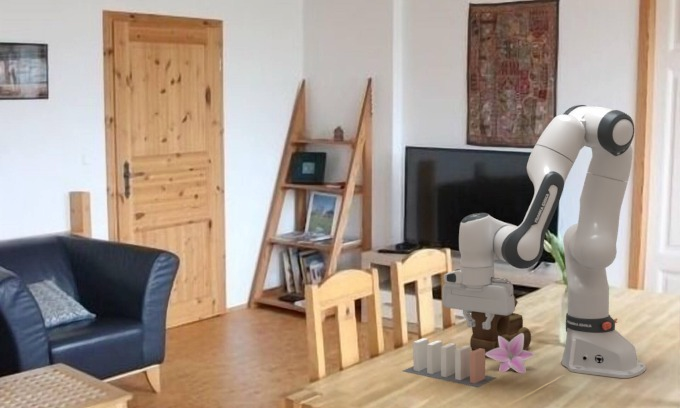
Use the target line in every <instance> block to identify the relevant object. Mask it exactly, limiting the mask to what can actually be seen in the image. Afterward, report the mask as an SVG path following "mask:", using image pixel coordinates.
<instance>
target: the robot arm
mask: <svg viewBox="0 0 680 408" xmlns="http://www.w3.org/2000/svg"><path fill="white" fill-rule="evenodd" d="M634 136H635V124H634V120H633V119H632V117H631V116H630V115H629V114H628V113H625V112H624V111H622V110H618V109H612V108H608V107H605V106H595V105H593V106H592V105H585V104H577V105H573V106H571V107H569V108H568V109H567V110H565V111H564V112H563V113H562V114H558V115H556V116H555V117H553V119H552V120H551V121H550V122H549V124H548V125H547V126H546V128H545V129H544V130H543V132H542V133H541V134H540V136H539V138H538V140H537V141H536V143H535V145H534V147H533V149H532V151H531V152H530V155H529V157H528V161H527V164H526V173H527V175H528V177H529V180H530V181H531V182H532V184H533V188H534V194H533V197H532V200H531V202H530V205H529V206H528V209H527V211H526V213H525V216H524V218H523V221H522V222H521V223H520V224H519V225H518V226H517V225H515V224H512V223H509V222H504V221H502V220H499V219H496V218H494V217H493V216H491V215H490V214H489V213H486V212H479V213H477V212H476V213H472V214H469V215H467V216H464V217H463V219H462V220H461V221H460V223H459V231H458V232H459V233H458V250H459V253H460V260H459V268H458V269H455V270H453V271H449V272H447V273H445V274H443V281H444V284H443V286H442V293H441V295H442V296H441V297H442V298H441V299H442V305H443V306H444V308H446V309H453V310H461V311H462V315H463V316H464V318H465V320H466V323H467V324H466V326H467V328H472V327H475V320H473V319H472V317H471V313H472V311H474V312H482V313H485V315H486V317H487V320H486V321H485V322H483V323H482V325H483V327H482V328H483V329H486V330H489V329H490V328H491V321H492V319H493V317H494V314H498V315H505V316H507V315H510V314H512V313H515V311H516V307H515V302H514V297H515V295H514V285H513V283H512V282H511V280H510V281H509V280H508V278H498V277H495V261H497V260H501V261H502V262H505V263H508V264H509V265H511V266H512V267H514V268H516V269H522V270H524V269H528V268H531V267H533V266H534V265H536V264H537V263H538V261H540V260H541V257H542V255H543V252H544V247H545V246H544V245H545V238H546V234H547V232H548V228H549V227H550V224H551V222H552V219H553V216H554V215H555V212H556V210H557V208H558V206H559V203H560V200H561V198H562V195H563V193H564V189H565V188H564V187H565V183H566V180H567V179H568V176H569V174H570V172H571V170H572V168H573V166H574V164H575V162H576V160H577V158H578V156H579V153H580V151H581V150H582V149H583V148H584V147H585V148H590V149H591V152H592V153H591V154H592V156H591V159H590V161H589V164H588V168H587V172H586V175H585V179H584V182H583V186H582V190H581V193H580V197H579V214H578V221H577V223H575V224H573V225H571V226H569V227H568V228H567V229H566V230H565V232H564V235H563V241H562V242H563V248H564V253H563V254H564V263H565V275H566V280H567V281H566V282H567V312H566V313H565V332H566V338H565V344H564V350H563V354H562V358H561V362H560V364H561V365H562V366H564V367H566V368H567V370H568V371H570V372H571V373H579V374H586V375H593V376H594V375H595V376H603V377H612V378H620V379H629V378H630V379H631V378H634V377H638V376H639V375H641V374H643V373H644V372H645V371H646V364H645V363H644V362H640V361H638V355H637V350H636V348H635V345H634V344H633V343H631V341H629V340H628V339H626V337H625V336H623V335H622V334H621V333H620V332H619V331H617V329H616V324H617V323H618V318H613V317H612V316H611V315H610V313H609V312H610V285H609V282H608V276H607V270H606V268H608V267H609V266H611V265H612V264H613V263H614V261H615V259H616V257H617V240H618V234H619V225H620V216H621V215H620V214H621V210H622V204H623V201H624V198H625V193H626V190H627V186H628V182H629V179H630V175H631V170H632V164H633V163H632V161H633V147H632V145H631V144H632V142H633V141H634V140H633V139H634Z"/></svg>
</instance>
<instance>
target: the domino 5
mask: <svg viewBox="0 0 680 408" xmlns="http://www.w3.org/2000/svg"><path fill="white" fill-rule="evenodd" d="M485 354H486V352H485V349H481V348H479V349H477V350H474V351H473V350H471V351H470V382H471V383H477V382H479V381H481V380H483V379H485V375H486V355H485Z"/></svg>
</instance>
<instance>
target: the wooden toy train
mask: <svg viewBox="0 0 680 408" xmlns="http://www.w3.org/2000/svg"><path fill="white" fill-rule="evenodd" d="M514 302H515V308H516V307H517V304H518V299H516V297H515V296H514ZM470 314H471V317H472V319H473V320H475V327H471V330H472V331H471V332H472V334H471V337H470V339H469V340H470V341H469V344H470V345H469V346H470V350H471V351H474V350H477V349H479V348H481V349H485V353H487V352H488V351H490V350H493V349H495V348H499V342H498V336H501V337H503V338H504V339H506V340H507V341H508V342H510V341H511V340H512V339H513V338H514V337H516V336H517V335H519V334H521V333H523V334H524V345H523V350H526V351H527V349H529V347H530V344H531V341H532V334H531V331H530V329H529V328H528V327H526V326H524V325H523V324H524V319H523V318H524V317H523V315H522V314H519V313H515V312H513V313H512V314H510V315H507V316H505V315H498V314H494V317H493V319H492V321H491V328H490V329H489V330H486V329H483V328H482V327H483V325H482V323H483V322H485V321H486V320H487V317H486V315H485V313H482V312H474V311H472V313H470Z"/></svg>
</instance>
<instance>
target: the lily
mask: <svg viewBox="0 0 680 408" xmlns="http://www.w3.org/2000/svg"><path fill="white" fill-rule="evenodd" d="M498 342H499V348H495V349H493V350H490V351H488V352H485V357H488V358H490V359H493V360H495V361H497V362H499V369H498V370H499V372H500V373H505V372H507V371H509V370H510V369H512V370H513V371H516V372H517V373H518V374H527V371H526V365H525V361H526V360H528V359H530V358H533V357H534V356H535V354H534V353H533V352H531V351H529V350H527V349H526V350H523V345H524V334H523V333H521V334H519V335H517V336H516V337H514V338H513V339H512V340H511V341H510V342H508V341H507V340H506V339H504V338H503V337H501V336H498Z"/></svg>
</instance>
